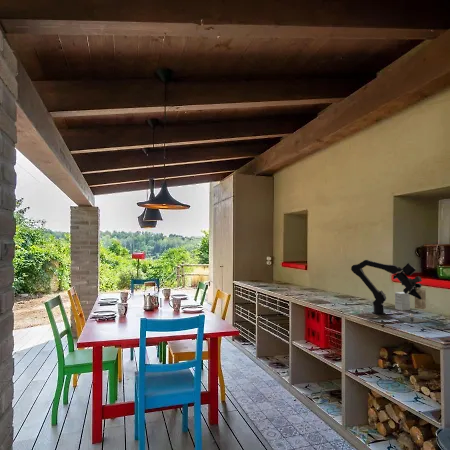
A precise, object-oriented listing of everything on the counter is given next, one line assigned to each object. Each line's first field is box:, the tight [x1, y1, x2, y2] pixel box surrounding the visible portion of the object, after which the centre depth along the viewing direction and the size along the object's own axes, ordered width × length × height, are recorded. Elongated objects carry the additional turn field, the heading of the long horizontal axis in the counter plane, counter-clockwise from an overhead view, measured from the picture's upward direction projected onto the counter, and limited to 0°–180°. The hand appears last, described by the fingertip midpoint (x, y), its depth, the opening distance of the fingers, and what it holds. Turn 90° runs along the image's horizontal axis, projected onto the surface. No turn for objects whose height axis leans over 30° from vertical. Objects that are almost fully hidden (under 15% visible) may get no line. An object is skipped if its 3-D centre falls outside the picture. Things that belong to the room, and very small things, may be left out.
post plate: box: [394, 313, 430, 325], centre depth 232 cm, size 14×14×4 cm
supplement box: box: [394, 291, 411, 312], centre depth 268 cm, size 7×7×13 cm
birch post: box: [414, 287, 427, 310], centre depth 239 cm, size 5×5×13 cm
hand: (422, 298), depth 238 cm, fingers closed on birch post, 5 cm apart
